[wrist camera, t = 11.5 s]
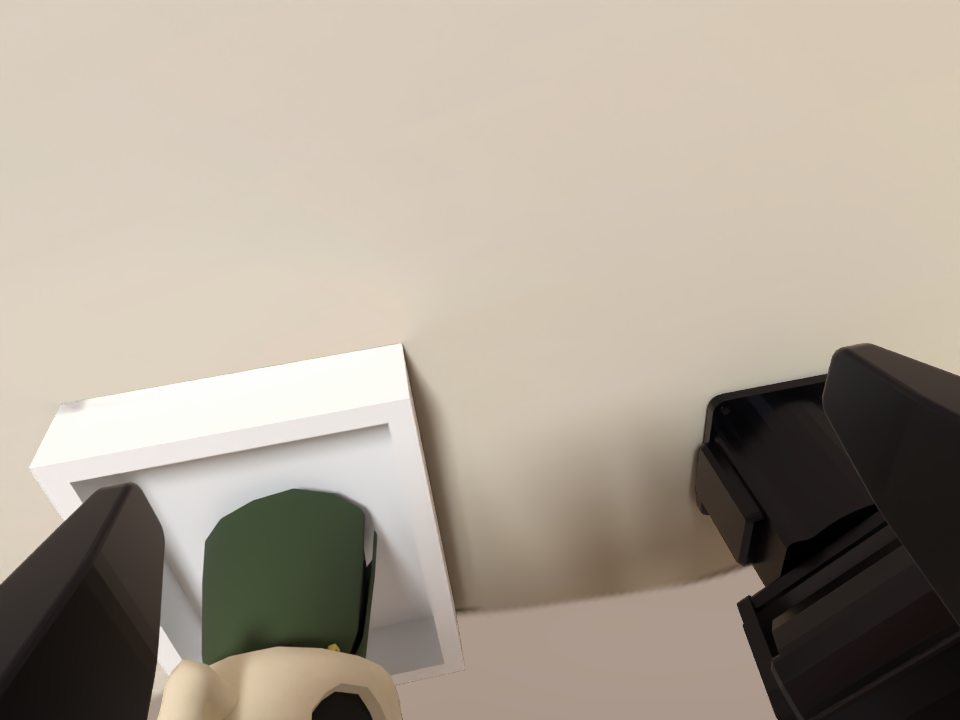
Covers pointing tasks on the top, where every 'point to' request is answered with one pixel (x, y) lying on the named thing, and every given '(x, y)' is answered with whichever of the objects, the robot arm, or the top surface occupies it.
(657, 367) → the top surface
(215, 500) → the white open box
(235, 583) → the character mug
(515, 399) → the top surface
